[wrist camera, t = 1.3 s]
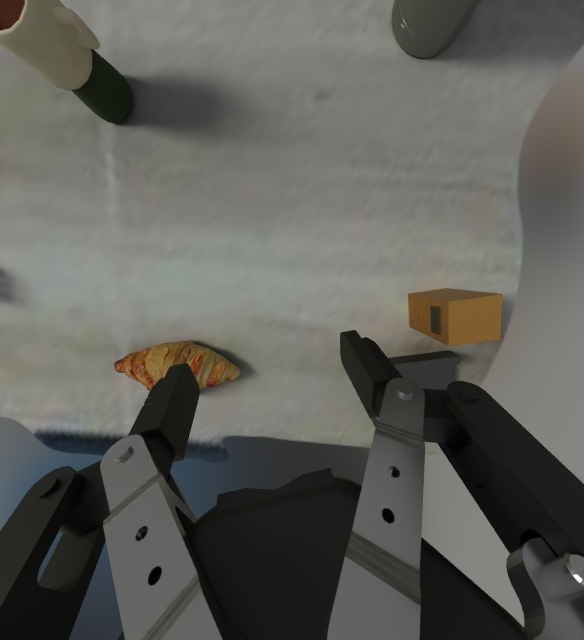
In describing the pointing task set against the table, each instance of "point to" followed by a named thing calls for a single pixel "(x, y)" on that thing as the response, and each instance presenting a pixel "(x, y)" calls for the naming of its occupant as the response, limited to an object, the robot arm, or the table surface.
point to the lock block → (456, 315)
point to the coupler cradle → (427, 370)
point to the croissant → (159, 358)
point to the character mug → (64, 54)
